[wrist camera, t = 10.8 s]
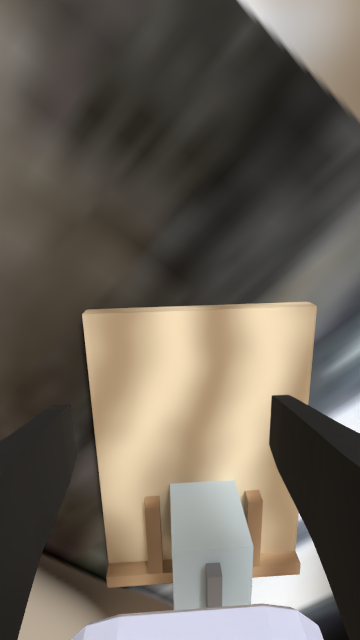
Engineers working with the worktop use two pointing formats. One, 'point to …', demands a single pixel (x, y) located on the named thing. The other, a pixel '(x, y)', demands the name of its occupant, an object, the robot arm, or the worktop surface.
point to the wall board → (193, 422)
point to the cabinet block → (210, 546)
